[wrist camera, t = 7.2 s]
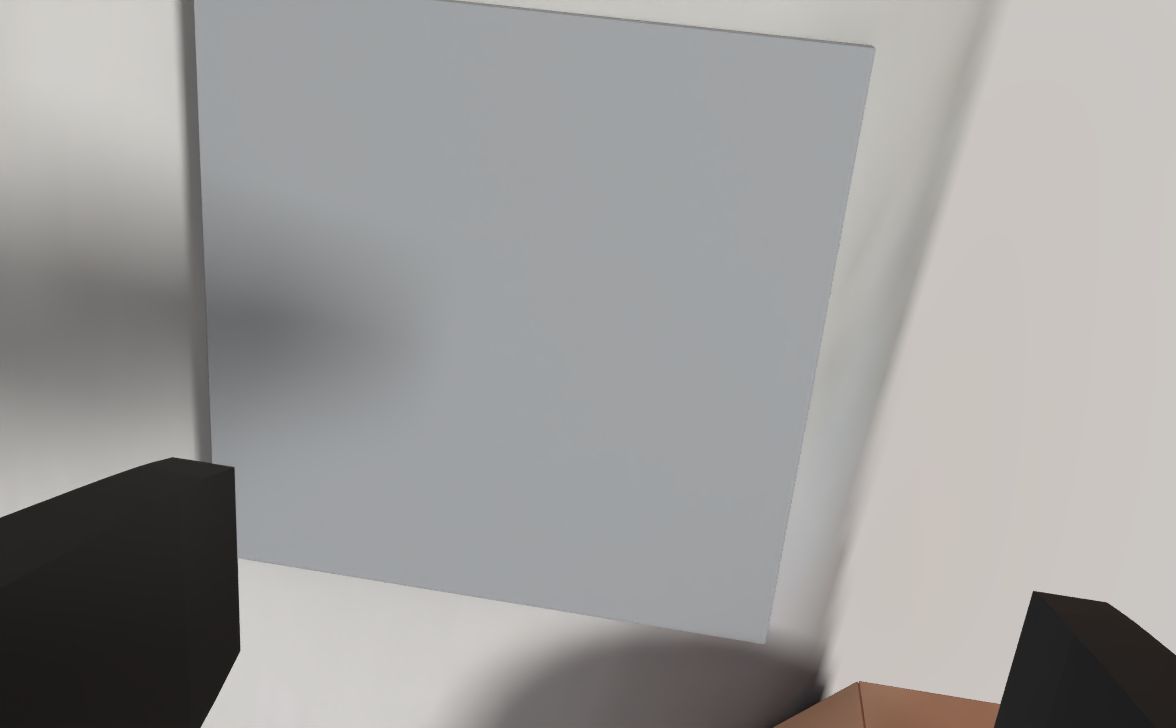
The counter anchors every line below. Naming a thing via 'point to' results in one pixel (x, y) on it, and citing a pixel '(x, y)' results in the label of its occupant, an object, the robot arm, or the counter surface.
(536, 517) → the mat
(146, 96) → the counter surface
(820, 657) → the counter surface
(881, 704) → the bowl
